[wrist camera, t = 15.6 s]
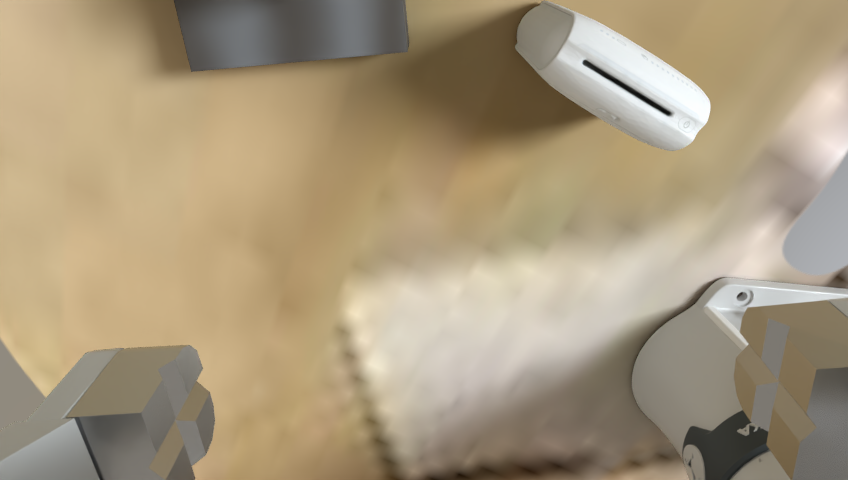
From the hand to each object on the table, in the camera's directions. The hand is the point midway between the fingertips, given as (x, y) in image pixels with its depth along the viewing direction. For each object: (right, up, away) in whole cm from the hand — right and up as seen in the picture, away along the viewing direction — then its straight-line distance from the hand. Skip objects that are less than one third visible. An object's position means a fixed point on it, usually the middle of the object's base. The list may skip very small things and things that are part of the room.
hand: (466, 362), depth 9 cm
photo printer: (+10, +15, +34) cm, 38 cm away
